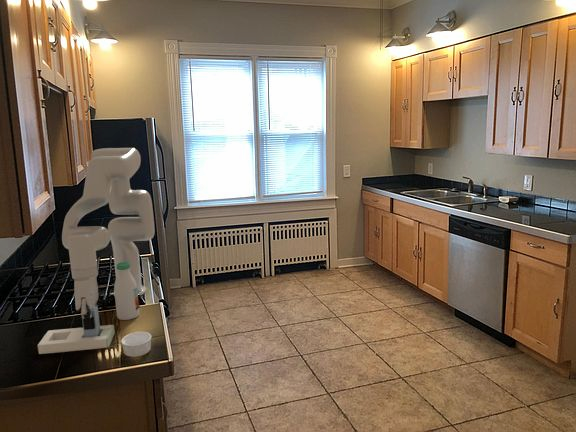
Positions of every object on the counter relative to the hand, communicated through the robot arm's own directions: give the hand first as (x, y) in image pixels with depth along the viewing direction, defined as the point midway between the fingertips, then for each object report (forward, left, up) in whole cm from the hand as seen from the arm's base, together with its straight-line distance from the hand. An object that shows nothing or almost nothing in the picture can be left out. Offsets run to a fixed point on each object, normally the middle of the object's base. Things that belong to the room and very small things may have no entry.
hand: (91, 325), depth 151 cm
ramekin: (+9, +15, -6) cm, 18 cm away
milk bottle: (-18, +8, -6) cm, 21 cm away
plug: (0, 0, -4) cm, 4 cm away
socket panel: (0, -5, -6) cm, 8 cm away
